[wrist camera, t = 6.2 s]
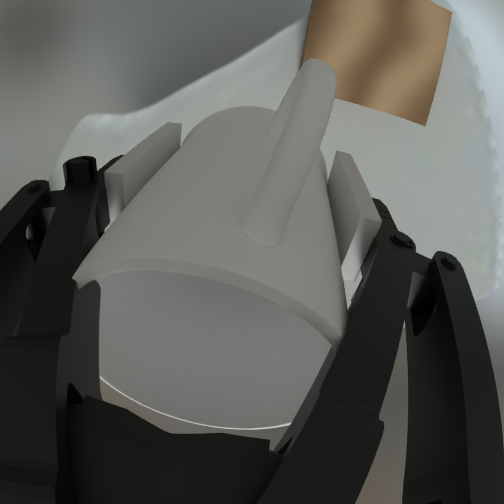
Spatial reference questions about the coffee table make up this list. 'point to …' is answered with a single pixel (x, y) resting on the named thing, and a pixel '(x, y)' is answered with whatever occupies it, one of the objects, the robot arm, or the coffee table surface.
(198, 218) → the mug
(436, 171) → the coffee table surface
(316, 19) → the walnut box
